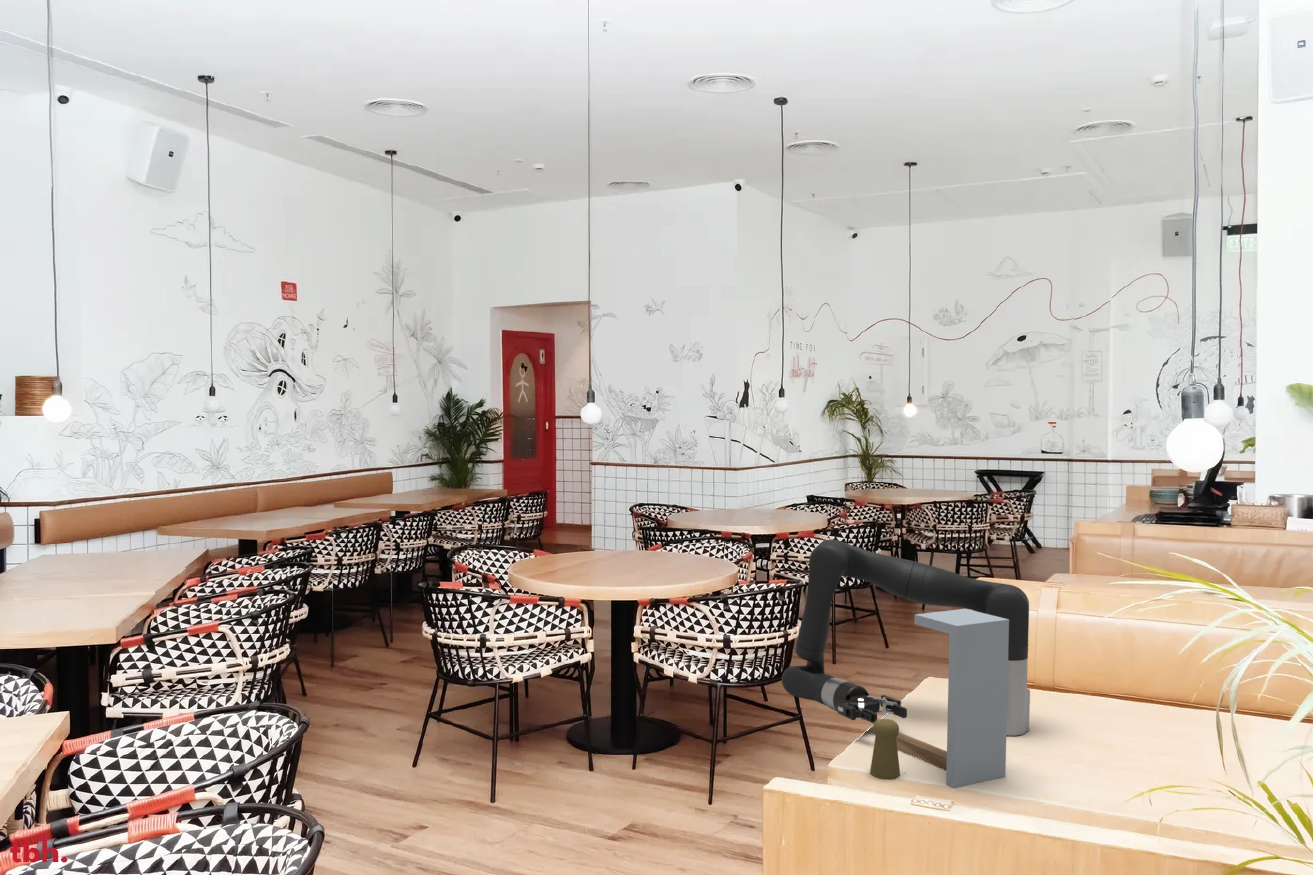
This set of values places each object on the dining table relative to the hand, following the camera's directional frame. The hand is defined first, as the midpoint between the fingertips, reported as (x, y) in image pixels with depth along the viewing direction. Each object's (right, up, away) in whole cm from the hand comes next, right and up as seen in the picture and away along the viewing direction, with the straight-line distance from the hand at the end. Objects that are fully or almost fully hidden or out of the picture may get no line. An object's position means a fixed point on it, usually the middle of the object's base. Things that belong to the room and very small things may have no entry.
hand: (891, 716), depth 232 cm
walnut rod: (+4, -7, -8) cm, 11 cm away
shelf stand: (+10, -7, -18) cm, 21 cm away
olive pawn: (-6, -7, -19) cm, 21 cm away
